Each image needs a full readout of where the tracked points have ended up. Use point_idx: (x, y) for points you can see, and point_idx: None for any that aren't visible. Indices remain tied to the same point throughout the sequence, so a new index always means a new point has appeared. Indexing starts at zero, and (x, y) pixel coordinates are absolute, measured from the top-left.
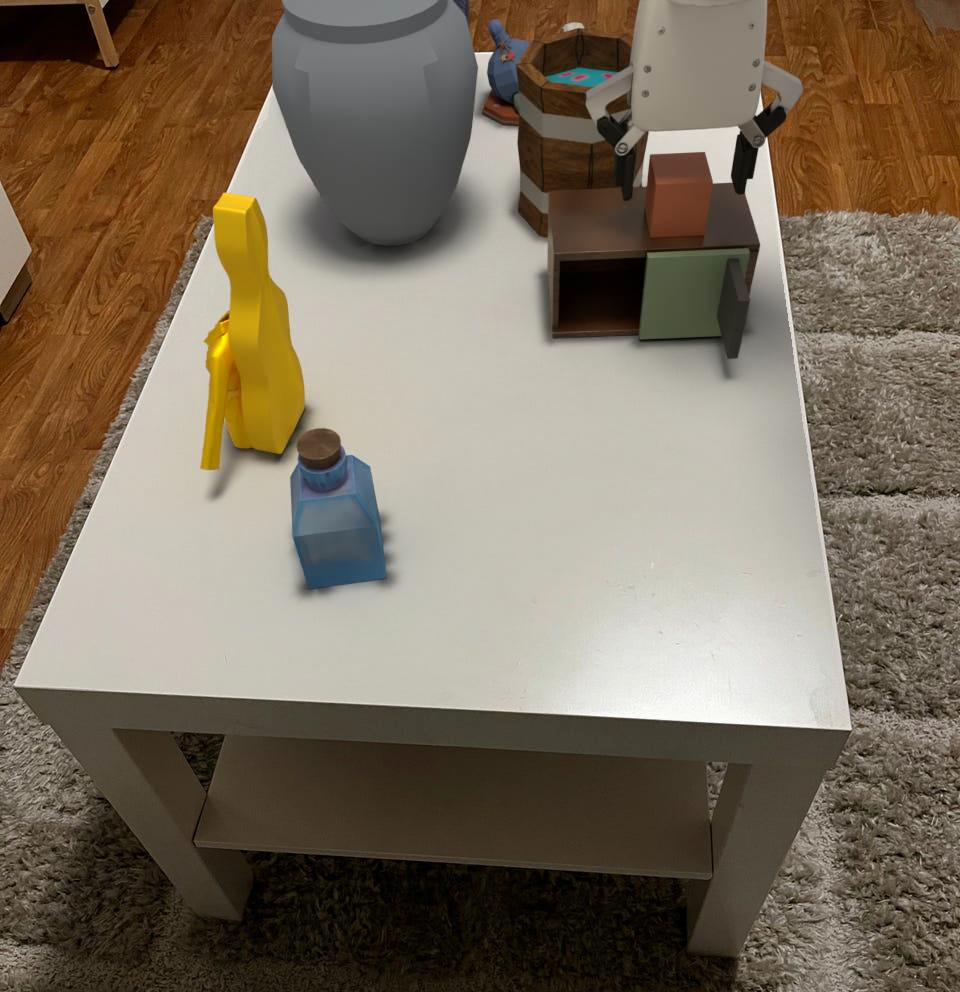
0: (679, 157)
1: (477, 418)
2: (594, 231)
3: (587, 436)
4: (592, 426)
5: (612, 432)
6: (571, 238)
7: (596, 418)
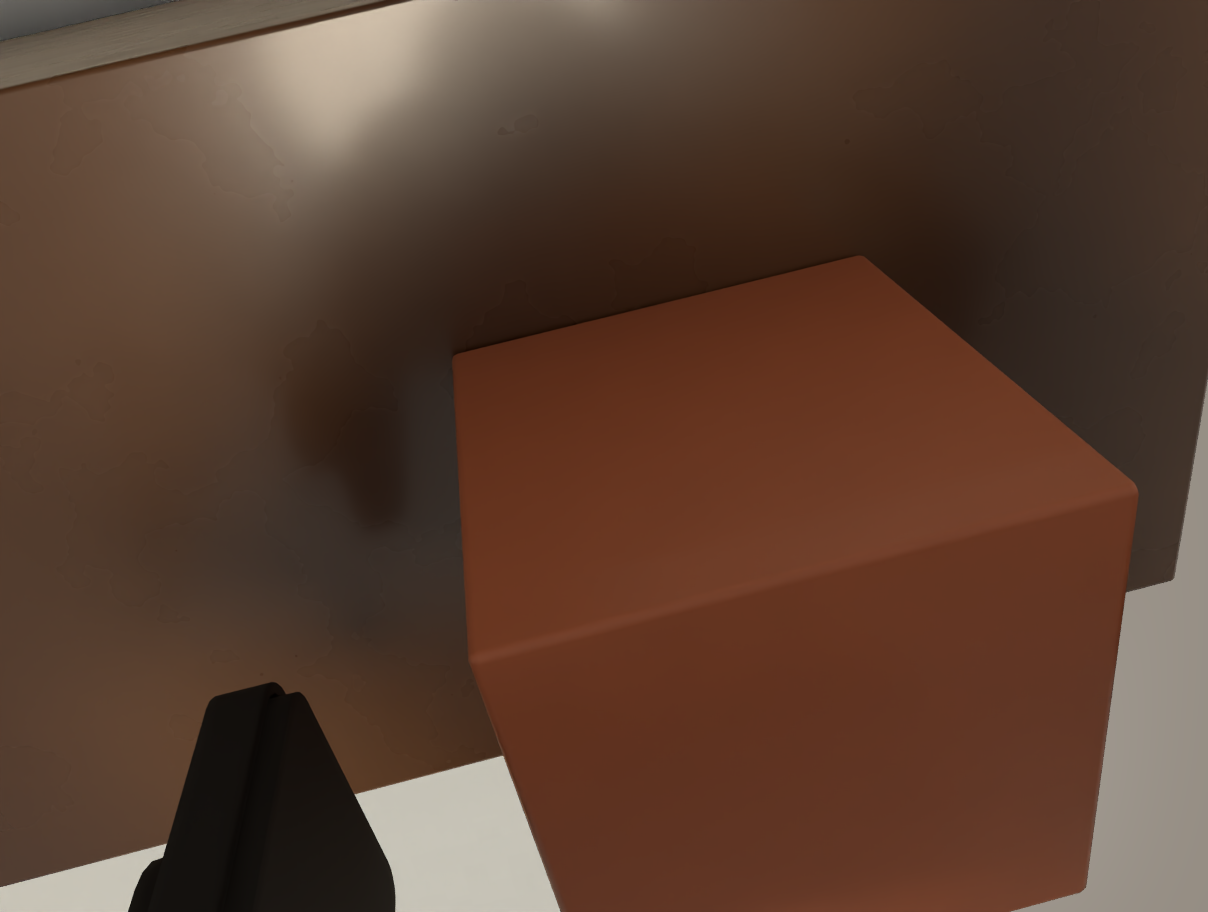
0: (828, 657)
1: (61, 893)
2: (156, 671)
3: (423, 865)
4: (429, 835)
5: (492, 838)
6: (30, 763)
7: (433, 810)
